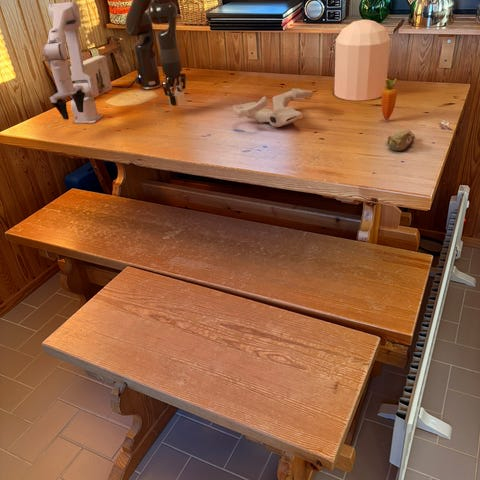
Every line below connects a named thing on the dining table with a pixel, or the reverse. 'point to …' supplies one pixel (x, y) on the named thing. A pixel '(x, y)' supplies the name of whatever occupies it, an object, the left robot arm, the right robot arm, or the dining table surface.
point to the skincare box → (98, 73)
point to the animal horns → (280, 112)
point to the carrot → (388, 99)
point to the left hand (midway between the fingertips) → (73, 115)
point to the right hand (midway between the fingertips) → (177, 102)
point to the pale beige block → (178, 98)
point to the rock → (400, 140)
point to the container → (361, 61)
